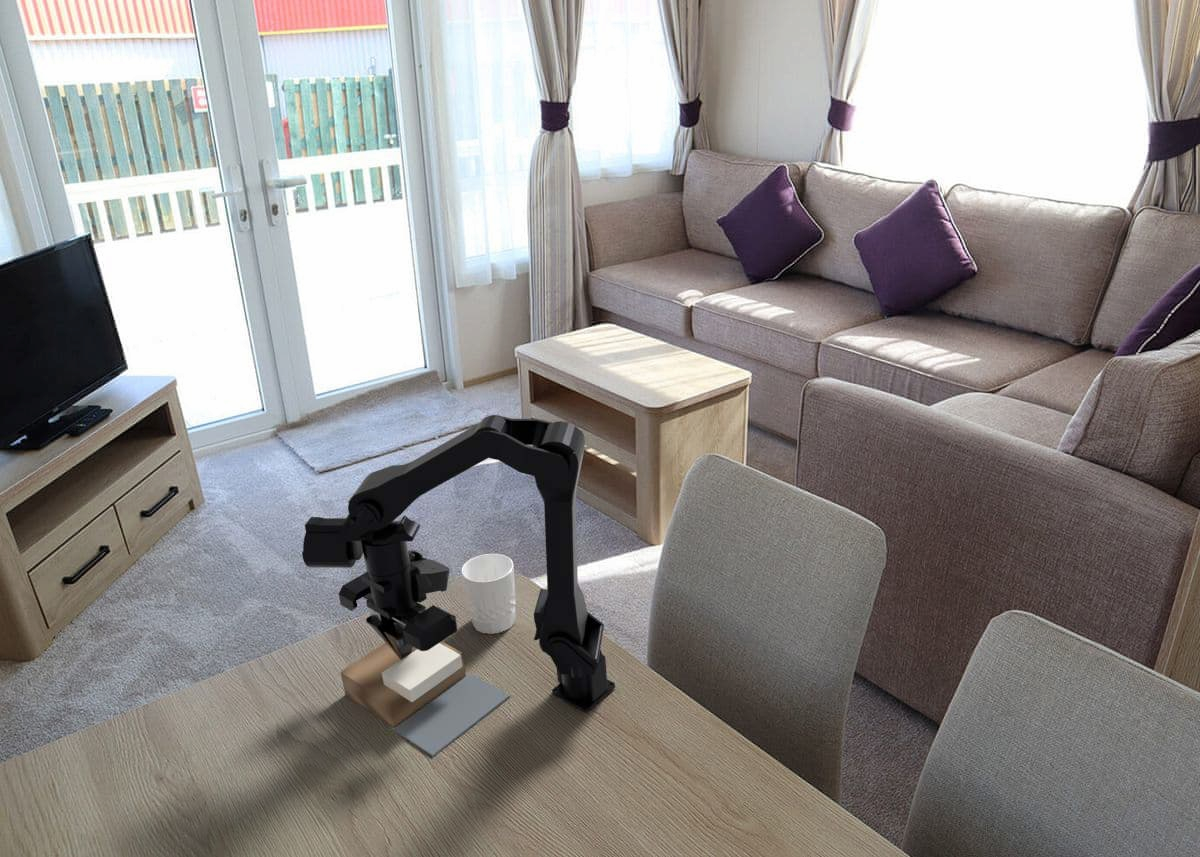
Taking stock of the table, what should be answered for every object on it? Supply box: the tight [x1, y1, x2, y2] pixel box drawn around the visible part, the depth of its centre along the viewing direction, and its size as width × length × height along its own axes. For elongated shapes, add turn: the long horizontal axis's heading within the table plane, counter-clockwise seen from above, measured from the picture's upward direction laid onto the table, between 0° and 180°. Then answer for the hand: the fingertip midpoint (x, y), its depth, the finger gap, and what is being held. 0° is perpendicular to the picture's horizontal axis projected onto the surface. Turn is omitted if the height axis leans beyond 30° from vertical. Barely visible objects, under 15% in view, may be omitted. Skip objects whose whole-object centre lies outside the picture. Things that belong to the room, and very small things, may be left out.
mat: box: [393, 672, 511, 757], centre depth 126 cm, size 8×14×1 cm, turn 140°
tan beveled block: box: [340, 641, 467, 728], centre depth 131 cm, size 11×13×4 cm
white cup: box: [461, 553, 517, 635], centre depth 142 cm, size 8×8×10 cm
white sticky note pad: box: [382, 643, 463, 702], centre depth 127 cm, size 6×9×2 cm, turn 140°
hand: (405, 659), depth 129 cm, fingers closed
